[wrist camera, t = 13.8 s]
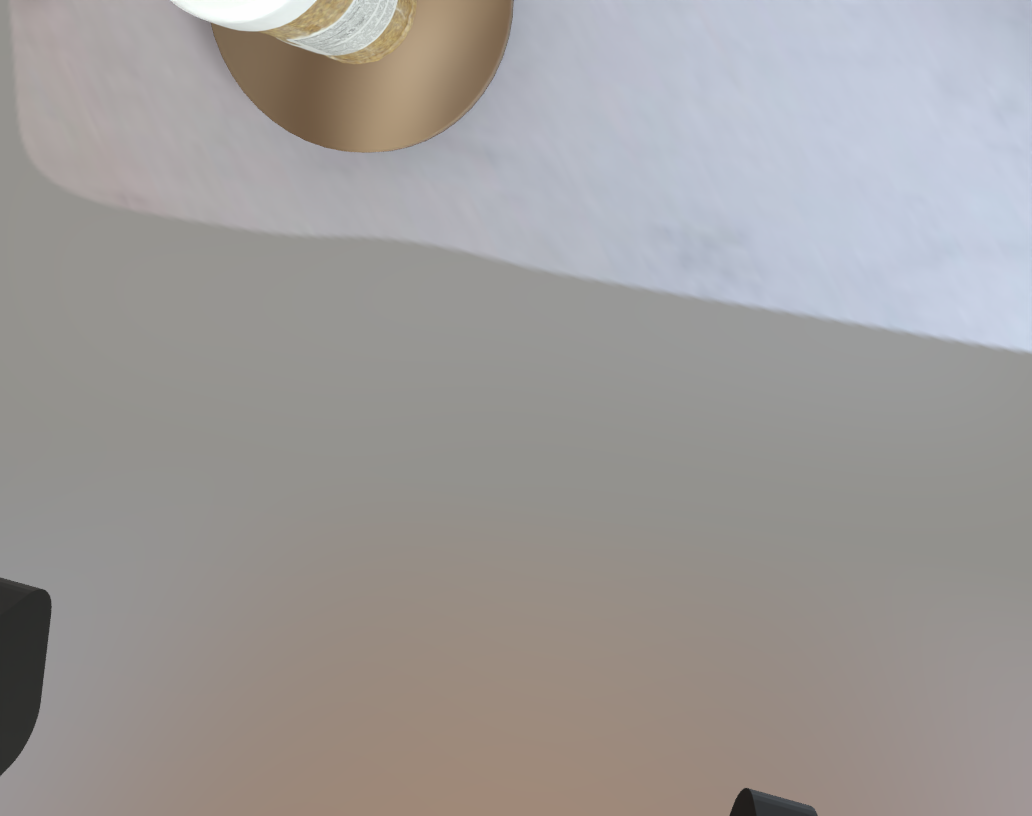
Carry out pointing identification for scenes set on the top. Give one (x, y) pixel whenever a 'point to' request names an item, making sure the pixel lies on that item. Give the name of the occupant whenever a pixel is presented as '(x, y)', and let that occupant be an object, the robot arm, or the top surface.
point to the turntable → (376, 78)
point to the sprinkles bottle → (317, 23)
